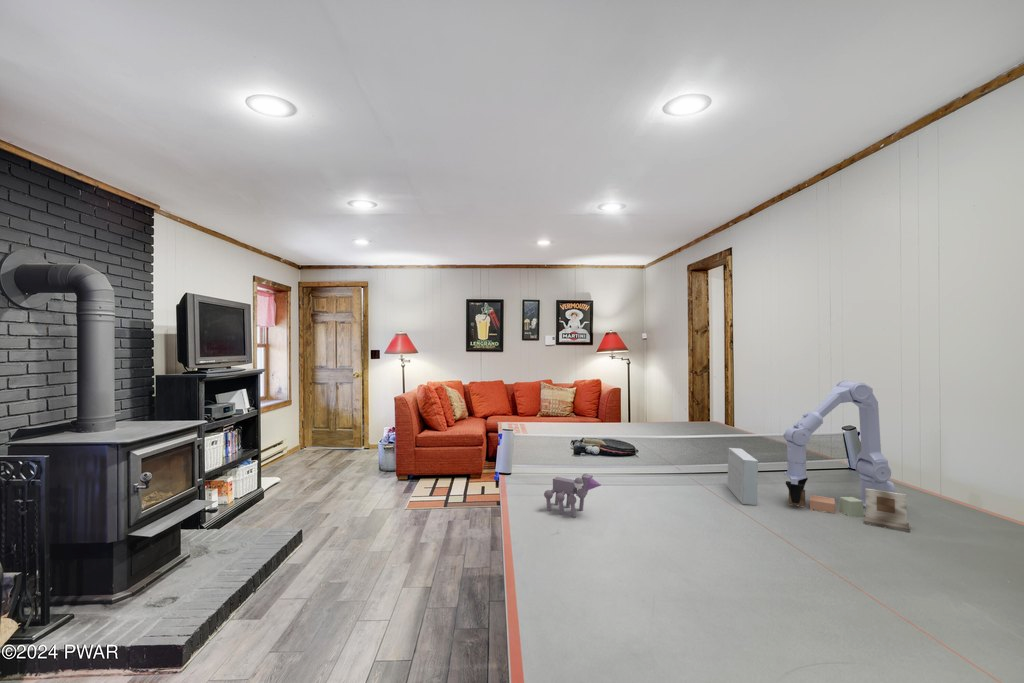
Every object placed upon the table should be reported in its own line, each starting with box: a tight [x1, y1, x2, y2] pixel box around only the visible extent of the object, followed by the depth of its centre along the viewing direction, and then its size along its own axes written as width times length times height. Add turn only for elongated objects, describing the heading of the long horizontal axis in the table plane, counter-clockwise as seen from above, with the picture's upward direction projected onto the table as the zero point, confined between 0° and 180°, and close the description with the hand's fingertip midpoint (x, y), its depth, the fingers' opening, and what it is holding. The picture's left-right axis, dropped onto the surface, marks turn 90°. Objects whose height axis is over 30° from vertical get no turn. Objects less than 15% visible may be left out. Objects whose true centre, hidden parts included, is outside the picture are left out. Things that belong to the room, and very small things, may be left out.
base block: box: [809, 494, 836, 514], centre depth 159 cm, size 7×7×4 cm
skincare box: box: [726, 447, 759, 506], centre depth 173 cm, size 21×6×16 cm, turn 168°
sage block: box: [839, 496, 864, 517], centre depth 154 cm, size 4×4×5 cm
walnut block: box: [788, 489, 806, 507], centre depth 163 cm, size 4×4×5 cm
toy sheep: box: [543, 473, 602, 518], centre depth 156 cm, size 20×11×14 cm, turn 54°
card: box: [863, 489, 911, 533], centre depth 144 cm, size 11×6×10 cm, turn 51°
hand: (797, 500), depth 163 cm, fingers open, 7 cm apart
